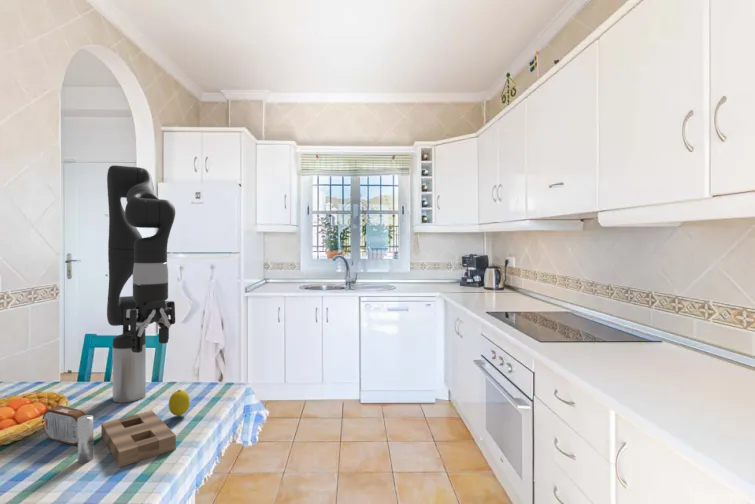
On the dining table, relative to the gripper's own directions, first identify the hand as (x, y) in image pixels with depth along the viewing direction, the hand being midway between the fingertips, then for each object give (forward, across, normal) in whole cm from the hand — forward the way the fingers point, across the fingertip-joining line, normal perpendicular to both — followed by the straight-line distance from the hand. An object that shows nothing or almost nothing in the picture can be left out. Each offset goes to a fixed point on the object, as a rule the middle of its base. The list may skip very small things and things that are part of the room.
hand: (150, 347), depth 99 cm
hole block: (+26, -2, -6) cm, 26 cm away
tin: (+26, +1, -24) cm, 36 cm away
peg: (+26, +7, -12) cm, 29 cm away
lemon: (+26, -18, -6) cm, 32 cm away
